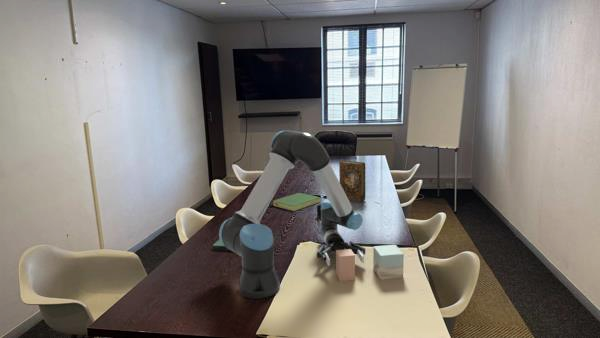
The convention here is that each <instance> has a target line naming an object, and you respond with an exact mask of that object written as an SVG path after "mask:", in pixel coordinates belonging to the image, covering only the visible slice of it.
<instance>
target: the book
mask: <svg viewBox="0 0 600 338" xmlns="http://www.w3.org/2000/svg"><path fill="white" fill-rule="evenodd" d="M338 166H339V169H338V170H339V175H338V176H339V182H340V184H341V186H342V188H343V190H344V192H345V194H346V196H347V198H348V200H349V202H350V203H351V202H353V203H362V202H364V201H365V200H366V162H363V161H351V160H340V161H339V164H338Z"/></svg>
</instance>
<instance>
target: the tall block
mask: <svg viewBox="0 0 600 338" xmlns="http://www.w3.org/2000/svg"><path fill="white" fill-rule="evenodd" d="M335 265H336V266H335V267H336V268H335V274H336V275H335V276H336V277H337V279H338V281H339V282H343V281H356V254H354V253H353V252H352V250H351V249H345V250H336V252H335Z"/></svg>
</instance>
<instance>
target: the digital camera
mask: <svg viewBox="0 0 600 338" xmlns="http://www.w3.org/2000/svg"><path fill="white" fill-rule="evenodd" d="M316 211H317V212H316V217H317V218H320V219H321V203H320V204H316Z"/></svg>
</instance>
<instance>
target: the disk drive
mask: <svg viewBox="0 0 600 338" xmlns="http://www.w3.org/2000/svg"><path fill="white" fill-rule="evenodd" d="M212 250H213V251H227V252H232V251H231V250H229V249H227V248H226V247H225V246H224V245H223V244H222V243H221V241H220V238H218V240H216V242H215V243H214V244H212Z"/></svg>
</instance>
